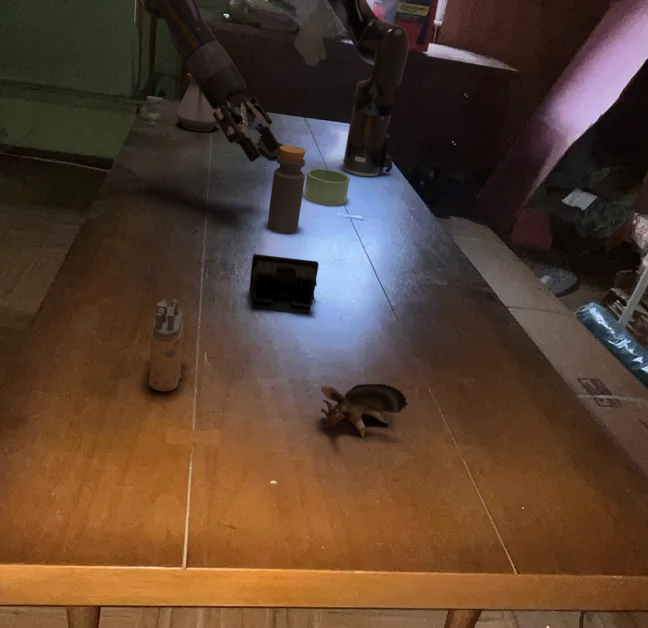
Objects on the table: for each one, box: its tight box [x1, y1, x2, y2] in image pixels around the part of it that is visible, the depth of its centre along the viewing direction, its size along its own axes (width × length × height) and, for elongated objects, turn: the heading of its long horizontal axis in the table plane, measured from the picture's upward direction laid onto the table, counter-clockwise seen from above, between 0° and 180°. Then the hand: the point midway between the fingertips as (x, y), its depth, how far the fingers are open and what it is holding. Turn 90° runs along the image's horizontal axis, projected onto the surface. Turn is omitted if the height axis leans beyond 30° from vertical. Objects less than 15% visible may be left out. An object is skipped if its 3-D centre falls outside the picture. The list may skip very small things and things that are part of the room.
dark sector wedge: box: [257, 138, 284, 161], centre depth 183 cm, size 8×14×2 cm, turn 23°
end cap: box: [248, 253, 319, 315], centre depth 112 cm, size 10×7×7 cm
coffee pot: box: [175, 72, 219, 132], centre depth 185 cm, size 21×12×15 cm, turn 10°
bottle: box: [267, 144, 306, 234], centre depth 136 cm, size 6×6×15 cm
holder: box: [303, 168, 351, 207], centre depth 158 cm, size 9×9×5 cm
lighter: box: [148, 298, 185, 392], centre depth 88 cm, size 7×4×10 cm, turn 2°
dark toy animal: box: [320, 383, 409, 438], centre depth 87 cm, size 8×7×9 cm
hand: (266, 154), depth 135 cm, fingers open, 8 cm apart
